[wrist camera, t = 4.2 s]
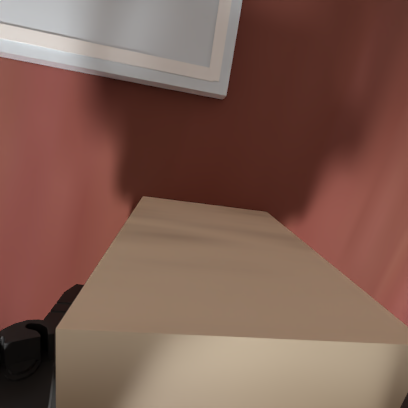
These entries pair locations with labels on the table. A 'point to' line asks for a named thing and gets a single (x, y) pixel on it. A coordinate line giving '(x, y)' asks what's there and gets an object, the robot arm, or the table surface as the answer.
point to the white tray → (128, 39)
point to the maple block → (224, 320)
